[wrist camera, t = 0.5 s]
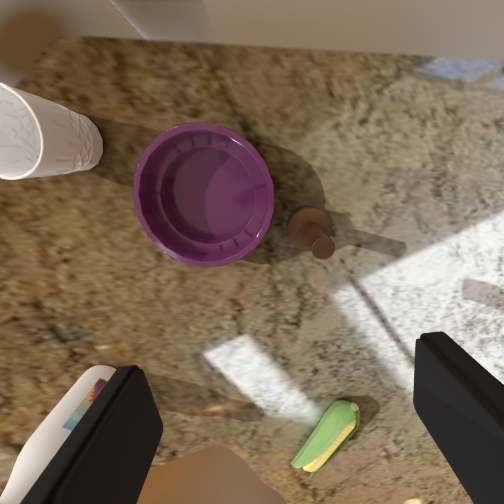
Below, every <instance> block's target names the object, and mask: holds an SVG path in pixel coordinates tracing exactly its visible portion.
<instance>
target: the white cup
mask: <svg viewBox="0 0 504 504" xmlns="http://www.w3.org/2000/svg"><path fill="white" fill-rule="evenodd" d="M102 154H103V140H102V137H101V135H100V133H99V131H98V128H97V127H96V126H95V125H94V124H93V123H92V122H91V121H90V120H89V119H88V118H87V117H86V116H84V115H82V114H79V113H77V112H75V111H72V110H69V109H67V108H66V107H64V106H61V105H59V104H56V103H54V102H51V101H49V100H46V99H44V98H42V97H39V96H36V95H33V94H30V93H28V92H25V91H22V90H19V89H17V88H14V87H11V86H8V85H6V84H3V83H0V178H2V179H9V180H15V179H24V178H34V177H43V176H53V175H60V174H67V173H72V172H75V171H83V170H90V169H91V168H93V167H94V166H95V165H97V164H98V163H99V161H100V159H101V157H102Z"/></svg>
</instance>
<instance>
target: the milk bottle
mask: <svg viewBox="0 0 504 504" xmlns="http://www.w3.org/2000/svg"><path fill="white" fill-rule="evenodd" d="M116 370H117V369H115V368H113V367H111V366H107V365H97V366H94V367H91V368H90V369H88V370H87V371H86V372H85V373H84V374H83V375H82V376H81V377H80V378H79V380H78V381H77V382H76V383H75V384H74V385H73V387H72V388H71V389H70V390H69V391H68V392H67V394H66V395H65V396H64V397H63V398H62V399H61V401H60V402H59V403H58V404H57V405H56V407H55V408H54V409H53V410H52V411H51V413H50V414H49V415H48V416H47V417H46V419H45V420H44V421H43V422H42V423H41V425H40V426H39V427H38V428H37V430H36V431H35V432H34V433H33V435H32V436H31V437H30V438H29V440H28V441H27V443H26V444H25V446H24V447H23V449H22V451H21V452H20V454H19V456H18V458H17V461H16V463H15V466H14V468H13V471H12V474H11V477H10V479H9V481H8V483H7V486H6V488H5V489H4V491H3V493H2V495H1V497H0V504H20V502H21V501H22V500H23V498H24V497H25V495H26V494H27V493H28V491H29V490H30V489H31V487H32V486H33V484H34V483H35V482H36V480H37V479H38V477H39V476H40V475H41V473H42V472H43V471H44V469H45V468H46V466H47V465H48V464H49V462H50V461H51V459H52V458H53V457H54V455H55V454H56V453H57V451H58V450H59V448H60V447H61V446H62V444H63V443H64V441H65V440H66V439H67V437H68V436H69V434H70V433H71V432H72V430H73V429H74V428H75V426H76V425H77V423H78V422H79V421H80V419H81V418H82V416H83V415H84V414H85V412H86V411H87V410H88V408H89V407H90V405H91V404H92V403H93V401H94V400H95V398H96V397H97V396H98V394H99V393H100V392H101V390H102V389H103V387H104V386H105V385H106V383H107V382H108V380H109V379H110V378H111V376H112V375H113V373H114V372H115V371H116Z"/></svg>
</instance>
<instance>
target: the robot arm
mask: <svg viewBox="0 0 504 504" xmlns="http://www.w3.org/2000/svg"><path fill="white" fill-rule="evenodd" d="M413 403H414V407H415V410H416V412H417V414H418V416H419V417H420V419H421V420H422V422H423V424H424V425H425V427H426V428H427V430H428V431H429V433H430V435H431V436H432V438H433V439H434V441H435V443H436V444H437V446H438V447H439V449H440V450H441V452H442V454H443V455H444V457H445V458H446V460H447V462H448V463H449V465H450V466H451V468H452V469H453V471H454V473H455V474H456V476H457V477H458V479H459V480H460V482H461V484H462V485H463V487H464V488H465V490H466V492H467V493H468V495H469V496H470V498H471V499H472V501H473V503H474V504H504V385H503V384H502V383H501V382H500V381H499V380H498V379H496V378H495V377H494V376H492V375H491V374H490V373H489V372H488V371H487V370H486V369H485V368H484V367H482V366H481V365H480V364H479V363H478V362H477V361H476V360H475V359H474V358H472V357H471V356H470V355H469V354H468V353H467V352H466V351H465V350H464V349H462V348H461V347H460V346H459V345H458V344H457V343H456V342H455V341H454V340H452V339H451V338H450V337H449V336H448V335H447V334H446V333H444V332H441V331H440V332H431V333H423V334H421V336H420V339H417V340H416V347H415V370H414V393H413ZM162 433H163V423H162V420H161V418H160V415H159V412H158V409H157V407H156V404H155V401H154V399H153V396H152V393H151V390H150V388H149V385H148V382H147V380H146V377H145V374H144V372H143V370H142V369H139V367H138V366H137V365H132V366H123V367H119V368H117V370H116V371H115V372H114V373H113V375H112V376H111V378H110V379H109V380H108V382H107V383H106V385H105V386H104V387H103V389H102V390H101V392H100V393H99V394H98V396H97V397H96V398H95V400H94V401H93V403H92V404H91V405H90V407H89V408H88V410H87V411H86V412H85V414H84V415H83V416H82V418H81V419H80V421H79V422H78V423H77V425H76V426H75V428H74V429H73V430H72V432H71V433H70V434H69V436H68V437H67V439H66V440H65V441H64V443H63V444H62V446H61V447H60V448H59V450H58V451H57V453H56V454H55V455H54V457H53V458H52V459H51V461H50V462H49V464H48V465H47V466H46V468H45V469H44V471H43V472H42V473H41V475H40V476H39V477H38V479H37V480H36V482H35V483H34V484H33V486H32V487H31V489H30V490H29V491H28V493H27V494H26V495H25V497H24V498H23V500H22V501H21V502H20V504H136V503H137V500H138V498H139V495H140V492H141V490H142V487H143V484H144V482H145V479H146V477H147V474H148V471H149V469H150V466H151V463H152V461H153V458H154V455H155V453H156V450H157V447H158V444H159V442H160V439H161V436H162Z"/></svg>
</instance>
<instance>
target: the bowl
mask: <svg viewBox="0 0 504 504" xmlns="http://www.w3.org/2000/svg"><path fill="white" fill-rule="evenodd" d="M133 199H134V203H135V208H136V213H137V217H138V219H139V221H140V222H141V224H142V226H143V228H144V230H145V232H146V234H147V235H148V237H149V238H150V239H151V240H152V241H153V242H154V243H155V244H156V245H157V246H158V247H159V248H160V249H161V250H162V251H163V252H165V253H167V254H168V255H170V256H172V257H174V258H175V259H177V260H179V261H181V262H184V263H188V264H192V265H196V266H200V267H210V266H223V265H226V264H229V263H231V262H234V261H237V260H240V259H241V258H243V257H244V256H245V255H247V254H248V253H249V252H250V251H252V250H253V249H254V248H256V246H257V245H258V244H259V243H260V241H261V240H262V238H263V237H264V235H265V234H266V232H267V231H268V229H269V226H270V222H271V219H272V215H273V212H274V185H273V182H272V179H271V176H270V173H269V171H268V168H267V165H266V163H265V161H264V160H263V158H262V157H261V156H260V155H259V153H258V152H257V151H256V149H255V148H254V147H253V145H252V144H251V143H250V142H249V141H247V140H246V139H244V138H243V137H241V136H240V135H238V134H237V133H236V132H234V131H233V130H231V129H229V128H226V127H222V126H219V125H215V124H211V123H208V122H200V123H187V124H181V125H178V126H176V127H174V128H172V129H170V130H168V131H165V132H163V133H161V134H160V135H159V136H158V137H157V138H156V139H155V140H154V141H153V142H152V143H151V144H150V145H149V146H148V147H147V148H146V149H145V151H144V152H143V154H142V157H141V159H140V161H139V163H138V165H137V167H136V170H135V175H134V185H133Z"/></svg>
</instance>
